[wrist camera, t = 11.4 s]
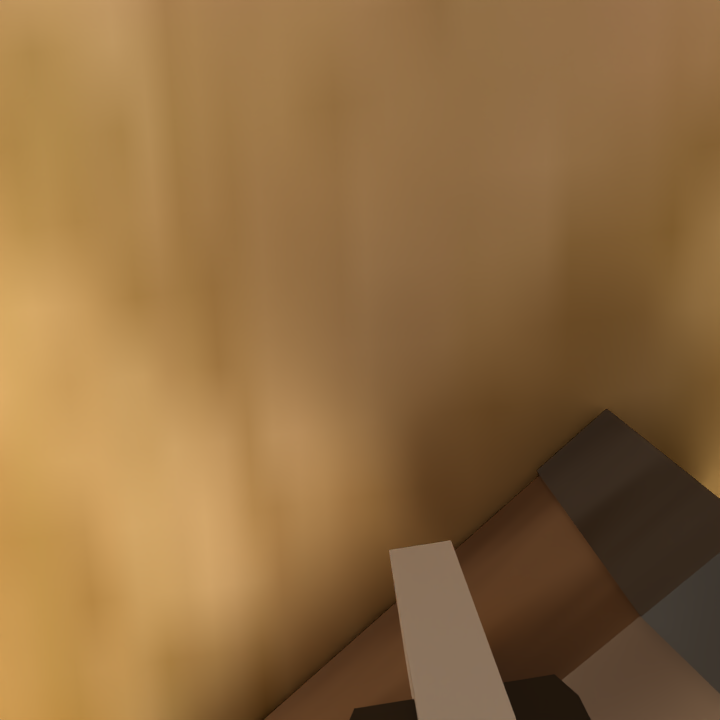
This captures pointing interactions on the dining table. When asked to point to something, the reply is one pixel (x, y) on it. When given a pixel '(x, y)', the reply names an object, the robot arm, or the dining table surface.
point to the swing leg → (576, 591)
